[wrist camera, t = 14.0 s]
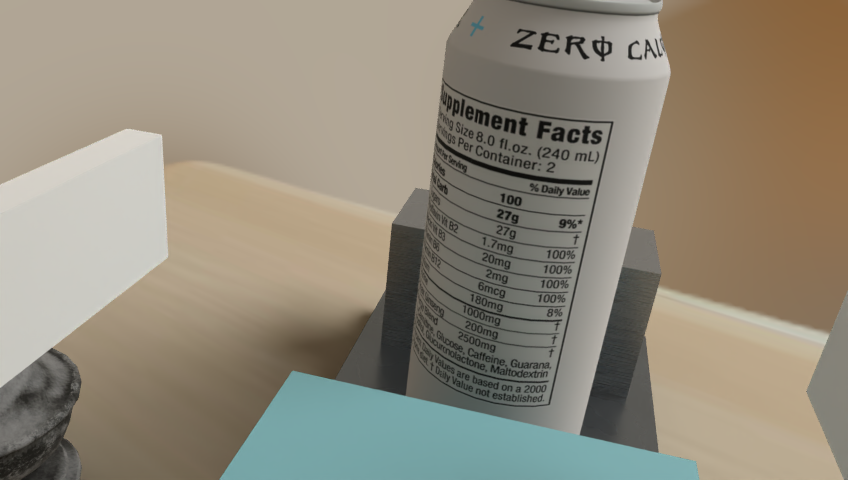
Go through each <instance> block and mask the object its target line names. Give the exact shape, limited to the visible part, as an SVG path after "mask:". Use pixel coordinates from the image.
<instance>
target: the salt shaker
mask: <svg viewBox="0 0 848 480" xmlns="http://www.w3.org/2000/svg"><path fill="white" fill-rule="evenodd" d="M80 388H81V378H80V375H79V371H78V368H77V366H76V365H75V364H74V363H73V362H72V361H71V360H70V359H69V357H68V356H67V355H65V354H63V353H61V352H59V351H57V350H55V349H53V348H51V349H50V350H48V351H47V352H46V353H44V354H43V355H42V356H41V357H39V358H38V359H37V360H35V361H34V362H33V363H32V364H30V365H29V366H28V367H26V368H25V369H24V370H23V371H21V372H20V373H19V374H17V375H16V376H15V377H14V378H12V379H11V380H10V381H8V382H7V383H6V384H5V385H3V386H2V387H1V388H0V480H80V475H81V469H82V467H81V462H80V458H79V454H78V451H77V450H76V449H75V448H74V447H73V445H72V444H71V443H70V442H69V441H68V440H66V439H64V438H63V437H64V434H65V432H66V429H67V427H68V424H69V422H70V418H71V413H72V408H73V406H74V404H75V403H76V401H77V400H78V398H79V393H80Z"/></svg>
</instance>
